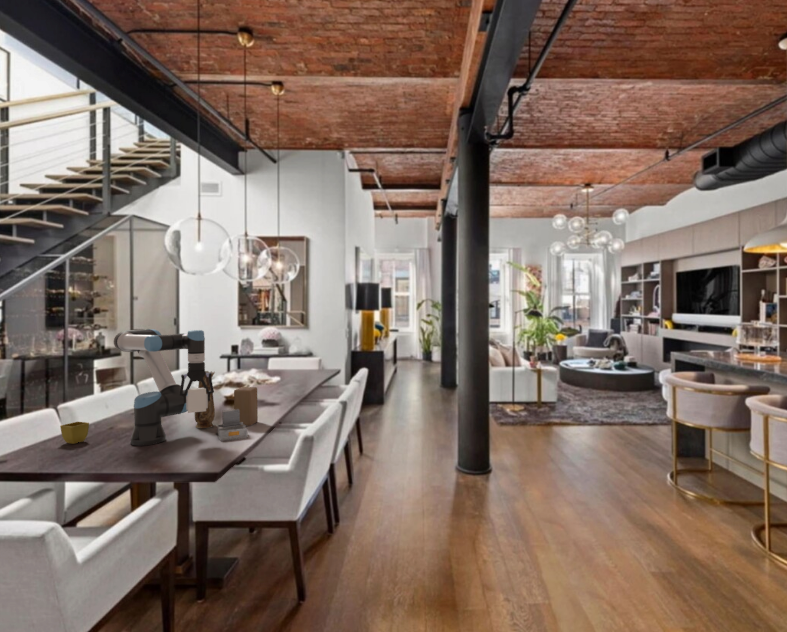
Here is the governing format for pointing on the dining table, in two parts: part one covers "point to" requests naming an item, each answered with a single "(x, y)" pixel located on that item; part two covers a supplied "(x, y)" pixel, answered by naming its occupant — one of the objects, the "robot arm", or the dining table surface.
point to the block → (246, 404)
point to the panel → (196, 400)
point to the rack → (231, 426)
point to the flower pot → (74, 432)
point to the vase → (207, 416)
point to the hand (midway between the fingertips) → (197, 408)
